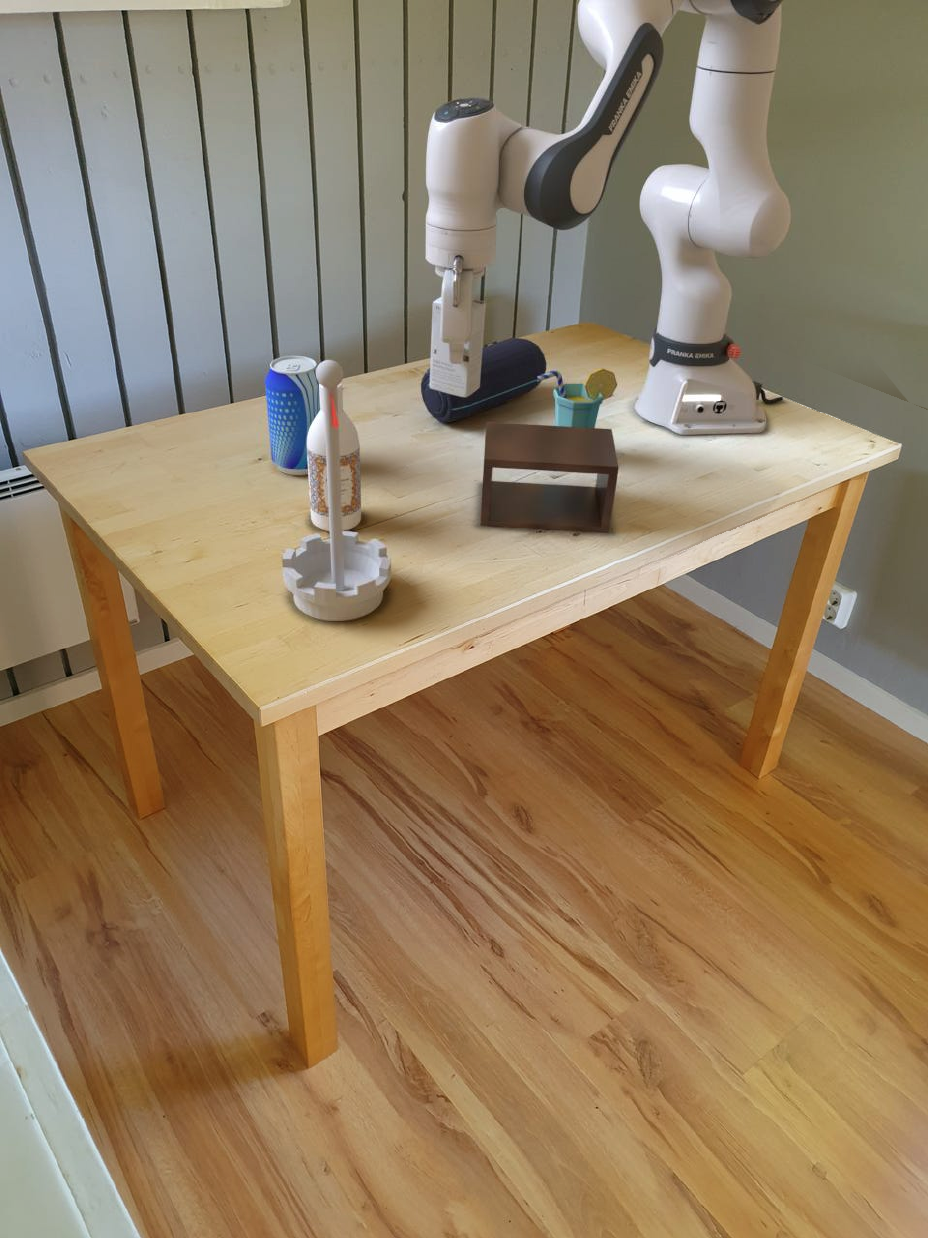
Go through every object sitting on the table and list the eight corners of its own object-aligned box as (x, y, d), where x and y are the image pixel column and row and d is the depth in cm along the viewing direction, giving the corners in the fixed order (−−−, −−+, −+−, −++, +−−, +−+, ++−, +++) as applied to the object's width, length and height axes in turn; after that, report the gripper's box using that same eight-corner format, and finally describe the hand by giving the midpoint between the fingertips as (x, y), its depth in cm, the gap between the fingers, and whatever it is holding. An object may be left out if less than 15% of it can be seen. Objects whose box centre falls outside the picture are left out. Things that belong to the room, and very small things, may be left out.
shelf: (602, 491, 144) (611, 428, 138) (609, 532, 134) (618, 467, 128) (482, 484, 144) (486, 421, 138) (480, 525, 134) (484, 459, 128)
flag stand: (278, 572, 122) (259, 342, 105) (379, 561, 126) (376, 335, 108) (292, 632, 112) (273, 388, 95) (401, 618, 115) (403, 380, 98)
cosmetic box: (428, 389, 132) (429, 301, 124) (443, 378, 135) (445, 291, 128) (468, 399, 129) (471, 309, 122) (482, 387, 133) (487, 300, 126)
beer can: (260, 464, 146) (251, 362, 137) (303, 447, 151) (297, 348, 142) (296, 483, 142) (288, 379, 132) (339, 465, 147) (335, 364, 137)
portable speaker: (508, 379, 178) (512, 326, 172) (549, 396, 172) (555, 341, 166) (409, 416, 163) (409, 359, 157) (451, 435, 157) (453, 377, 151)
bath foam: (313, 535, 130) (305, 395, 118) (308, 510, 136) (300, 374, 124) (364, 531, 131) (361, 393, 120) (357, 506, 137) (354, 371, 125)
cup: (542, 475, 147) (551, 382, 138) (516, 454, 152) (523, 363, 144) (616, 458, 153) (629, 368, 144) (588, 439, 158) (599, 350, 149)
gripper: (483, 271, 112) (478, 383, 121) (487, 225, 129) (483, 327, 137) (429, 269, 113) (428, 381, 121) (440, 223, 129) (439, 325, 137)
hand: (457, 352), depth 129 cm, fingers closed on cosmetic box, 5 cm apart
